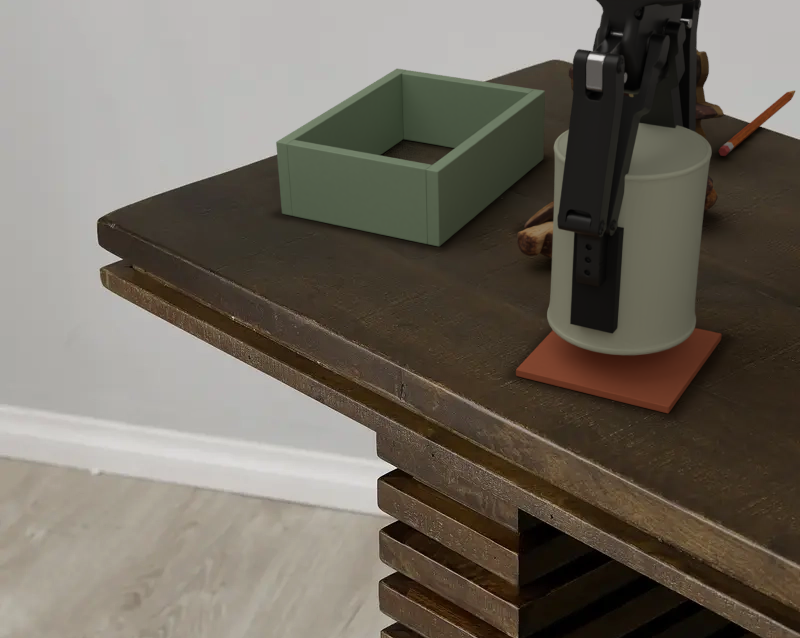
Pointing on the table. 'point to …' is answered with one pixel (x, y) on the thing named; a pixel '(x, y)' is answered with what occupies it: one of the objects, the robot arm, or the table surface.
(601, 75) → the robot arm
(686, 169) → the can
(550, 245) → the lashed bone hook
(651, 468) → the table surface
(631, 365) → the mat
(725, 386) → the table surface
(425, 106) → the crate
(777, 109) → the pencil
